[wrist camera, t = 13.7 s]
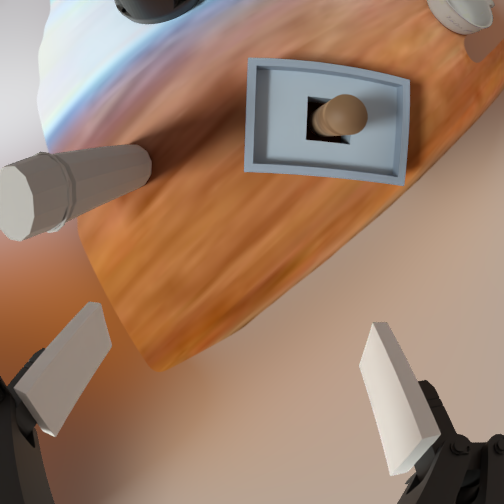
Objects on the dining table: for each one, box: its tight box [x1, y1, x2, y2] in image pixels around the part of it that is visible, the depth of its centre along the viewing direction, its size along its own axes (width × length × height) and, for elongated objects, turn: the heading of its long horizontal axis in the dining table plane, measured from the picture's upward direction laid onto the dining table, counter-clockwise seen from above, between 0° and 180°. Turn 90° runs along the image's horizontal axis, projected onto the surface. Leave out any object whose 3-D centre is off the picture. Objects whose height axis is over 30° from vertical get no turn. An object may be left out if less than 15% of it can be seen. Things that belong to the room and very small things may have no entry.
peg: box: [308, 94, 368, 137], centre depth 30 cm, size 4×4×14 cm
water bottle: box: [0, 145, 152, 241], centre depth 29 cm, size 9×8×25 cm
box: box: [244, 58, 410, 186], centre depth 33 cm, size 14×20×7 cm
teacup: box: [427, 0, 494, 35], centre depth 23 cm, size 14×11×8 cm
